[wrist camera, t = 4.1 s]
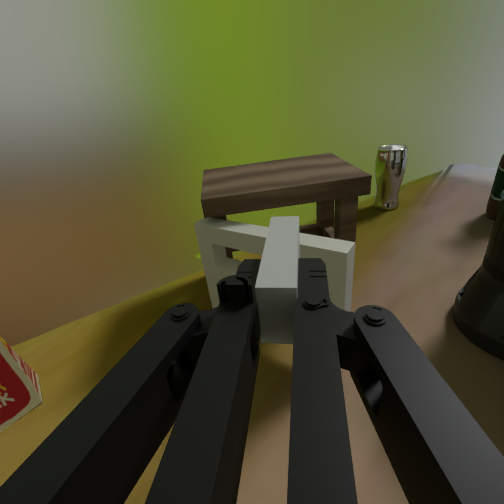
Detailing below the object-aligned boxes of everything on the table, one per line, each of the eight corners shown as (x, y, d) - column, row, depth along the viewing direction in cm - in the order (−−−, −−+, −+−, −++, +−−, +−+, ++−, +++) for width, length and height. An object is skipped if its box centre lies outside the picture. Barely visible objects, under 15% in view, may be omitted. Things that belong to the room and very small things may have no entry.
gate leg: (341, 365, 37) (347, 253, 30) (214, 315, 48) (194, 223, 40) (347, 351, 39) (355, 242, 31) (223, 306, 50) (206, 216, 42)
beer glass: (372, 200, 84) (378, 144, 77) (400, 202, 81) (408, 143, 74) (370, 210, 78) (375, 150, 71) (400, 211, 76) (408, 150, 68)
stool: (361, 299, 49) (371, 175, 39) (224, 321, 47) (200, 199, 38) (328, 252, 62) (330, 152, 52) (222, 269, 61) (203, 170, 51)
